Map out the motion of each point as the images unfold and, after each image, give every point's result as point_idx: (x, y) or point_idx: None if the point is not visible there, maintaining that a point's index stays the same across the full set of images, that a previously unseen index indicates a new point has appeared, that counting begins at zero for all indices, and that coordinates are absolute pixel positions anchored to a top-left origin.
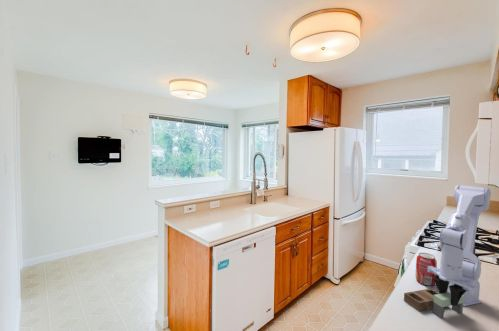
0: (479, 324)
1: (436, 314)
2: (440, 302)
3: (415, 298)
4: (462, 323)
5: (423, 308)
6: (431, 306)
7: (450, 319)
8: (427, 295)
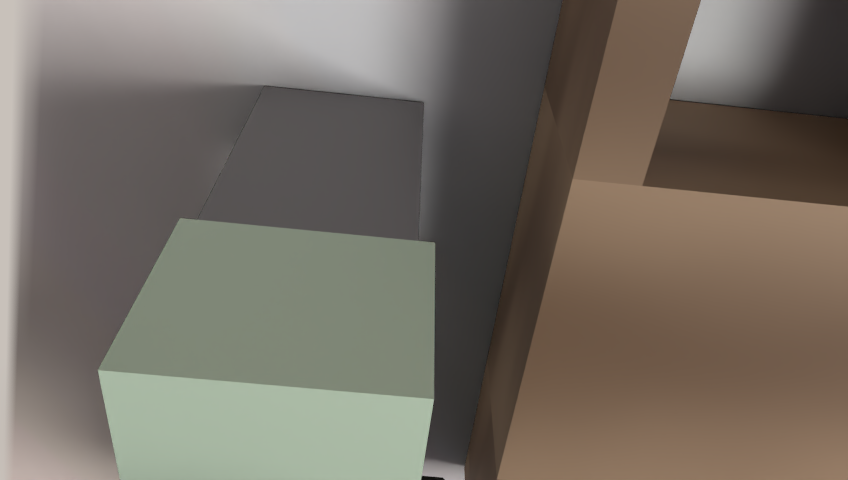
0: (47, 448)
1: (349, 100)
2: (209, 292)
3: (844, 155)
4: (86, 285)
5: (571, 8)
6: (524, 228)
7: None
8: (694, 400)
